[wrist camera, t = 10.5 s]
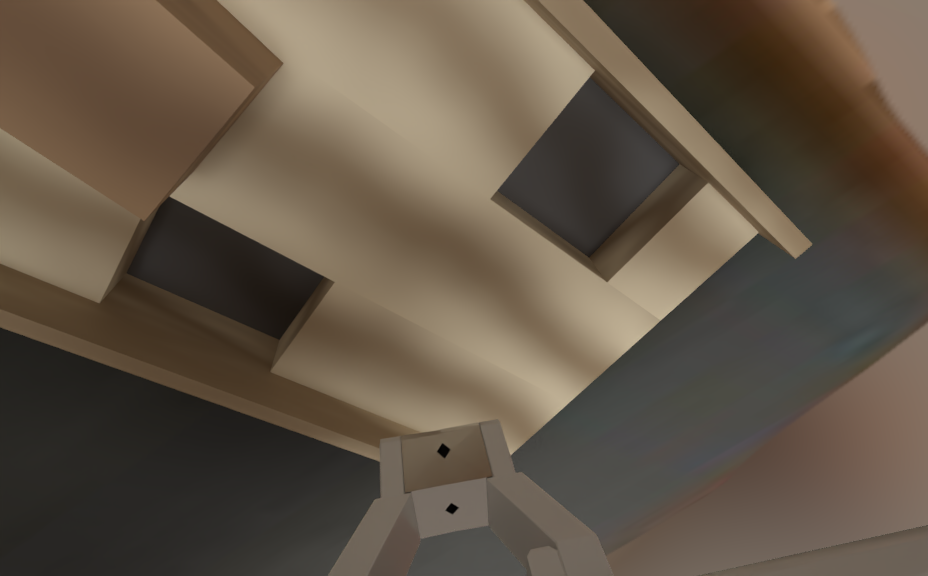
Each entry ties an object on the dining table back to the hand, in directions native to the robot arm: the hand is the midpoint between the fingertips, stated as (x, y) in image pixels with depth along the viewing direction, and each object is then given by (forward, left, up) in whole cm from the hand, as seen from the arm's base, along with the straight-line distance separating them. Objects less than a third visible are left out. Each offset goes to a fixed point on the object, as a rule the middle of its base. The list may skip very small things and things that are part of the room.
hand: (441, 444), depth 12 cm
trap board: (+1, +1, -12) cm, 12 cm away
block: (+2, +11, -9) cm, 14 cm away
